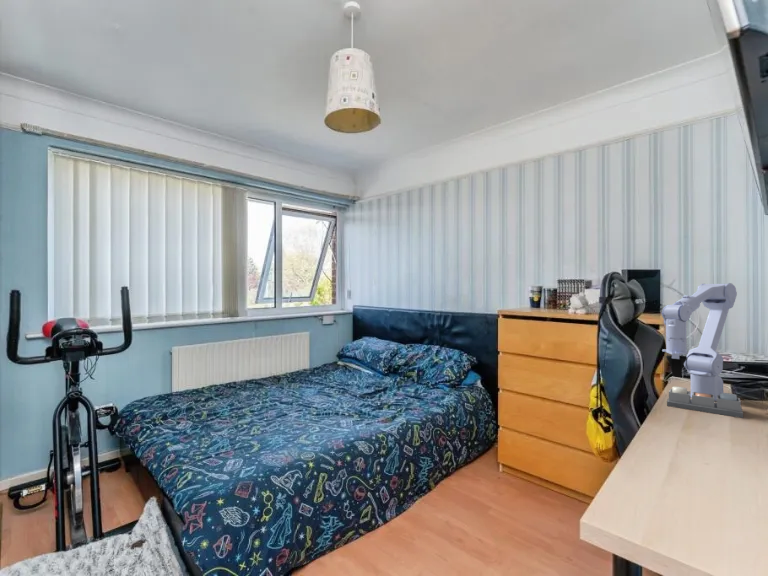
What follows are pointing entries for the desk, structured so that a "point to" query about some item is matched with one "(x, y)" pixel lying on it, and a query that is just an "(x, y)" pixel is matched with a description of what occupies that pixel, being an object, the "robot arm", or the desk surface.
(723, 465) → the desk surface
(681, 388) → the cream button
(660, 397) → the desk surface
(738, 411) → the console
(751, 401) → the desk surface
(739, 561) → the desk surface
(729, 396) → the bluegrey button
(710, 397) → the terracotta button
